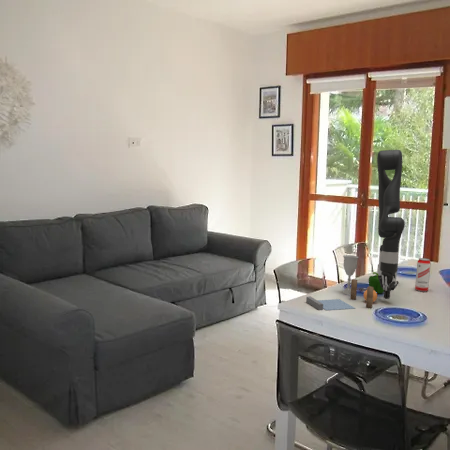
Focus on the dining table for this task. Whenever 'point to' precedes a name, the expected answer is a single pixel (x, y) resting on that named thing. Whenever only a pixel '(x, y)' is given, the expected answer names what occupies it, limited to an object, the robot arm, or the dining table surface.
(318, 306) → the wall
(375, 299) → the ball
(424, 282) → the beer can
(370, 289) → the post
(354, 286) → the post
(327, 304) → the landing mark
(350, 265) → the chalice
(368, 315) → the dining table surface
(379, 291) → the bell pepper
